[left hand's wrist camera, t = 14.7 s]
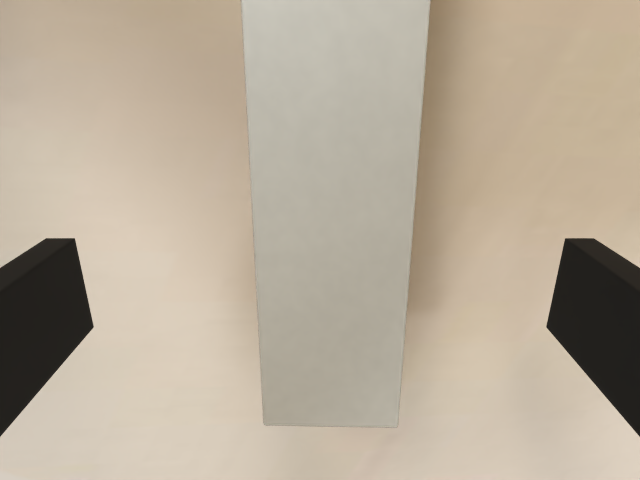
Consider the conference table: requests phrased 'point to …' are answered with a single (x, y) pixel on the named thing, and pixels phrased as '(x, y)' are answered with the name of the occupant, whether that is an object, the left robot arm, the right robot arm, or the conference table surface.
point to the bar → (333, 201)
